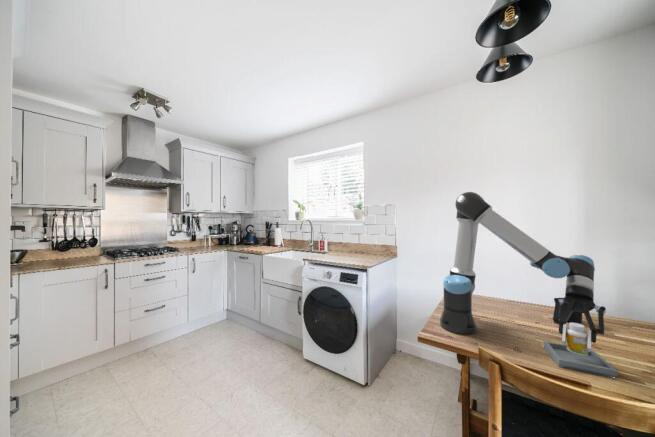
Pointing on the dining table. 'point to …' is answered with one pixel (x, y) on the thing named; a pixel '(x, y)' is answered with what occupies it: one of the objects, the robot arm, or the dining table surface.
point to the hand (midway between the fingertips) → (576, 346)
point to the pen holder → (575, 316)
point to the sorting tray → (579, 360)
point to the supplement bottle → (577, 339)
